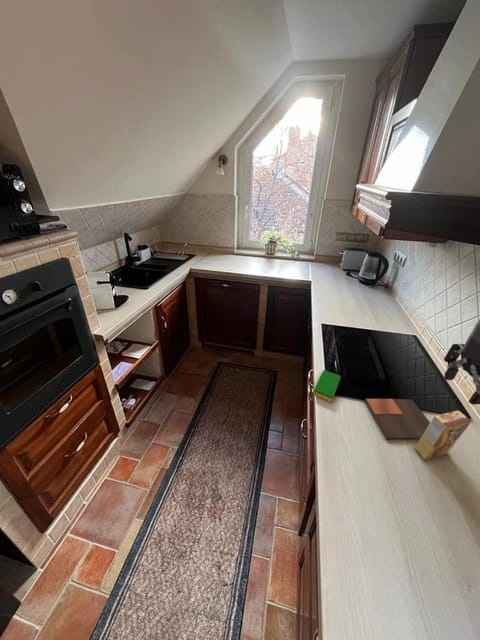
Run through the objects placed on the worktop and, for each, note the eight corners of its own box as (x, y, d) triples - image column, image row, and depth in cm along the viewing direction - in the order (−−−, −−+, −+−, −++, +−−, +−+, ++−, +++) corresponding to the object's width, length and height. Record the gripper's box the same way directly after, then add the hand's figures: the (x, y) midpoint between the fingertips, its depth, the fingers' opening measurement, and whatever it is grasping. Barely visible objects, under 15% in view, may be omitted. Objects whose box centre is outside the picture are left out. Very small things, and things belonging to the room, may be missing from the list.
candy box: (436, 442, 81) (457, 409, 73) (448, 454, 78) (472, 421, 70) (413, 448, 79) (433, 414, 71) (425, 461, 76) (447, 427, 68)
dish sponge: (339, 380, 105) (341, 375, 103) (331, 402, 94) (332, 397, 93) (322, 373, 108) (323, 369, 107) (312, 394, 97) (313, 390, 96)
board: (410, 401, 96) (412, 398, 95) (440, 439, 82) (442, 437, 81) (364, 400, 95) (364, 398, 95) (386, 439, 81) (387, 437, 81)
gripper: (539, 359, 52) (498, 412, 60) (481, 323, 64) (453, 372, 72) (504, 359, 52) (467, 412, 60) (452, 323, 64) (428, 372, 72)
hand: (460, 390), depth 66 cm, fingers open, 8 cm apart
